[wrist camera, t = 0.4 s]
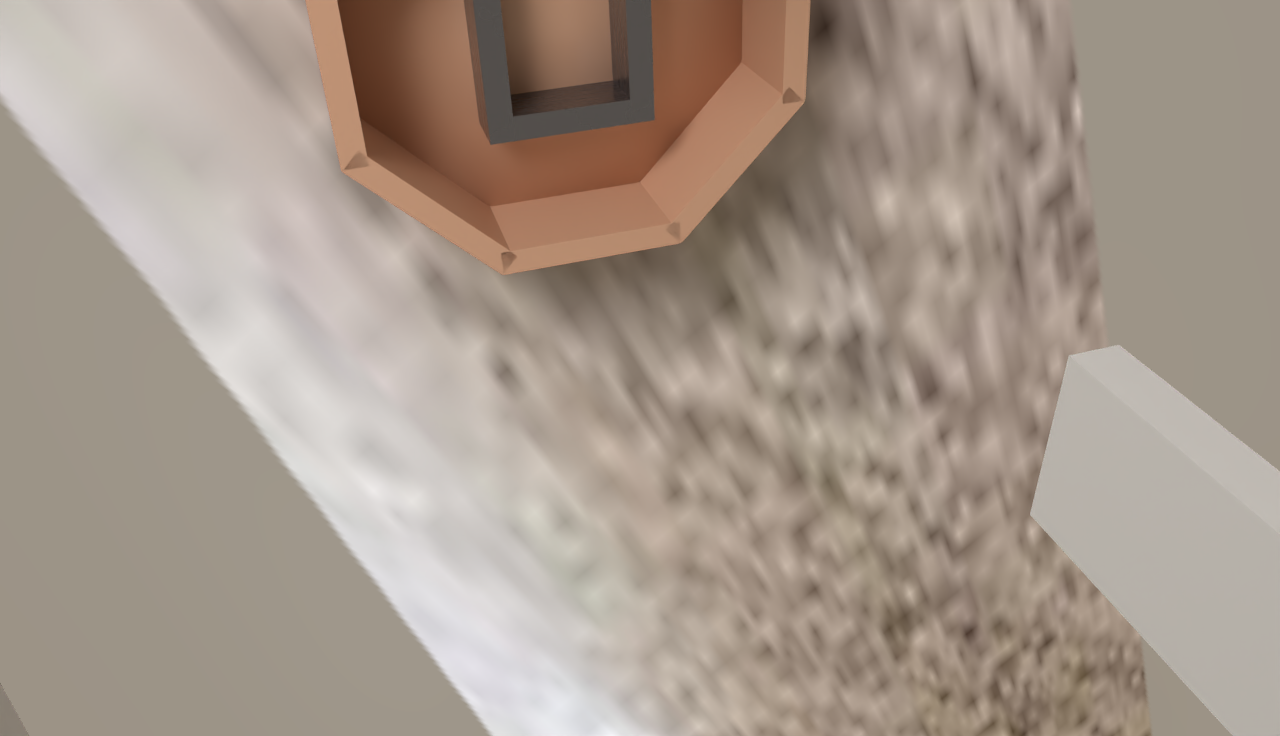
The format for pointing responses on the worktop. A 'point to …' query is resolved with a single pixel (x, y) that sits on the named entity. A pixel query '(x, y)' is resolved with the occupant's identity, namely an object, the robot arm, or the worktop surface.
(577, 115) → the grey rectangular sleeve
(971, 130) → the worktop surface
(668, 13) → the orange octagonal tray
